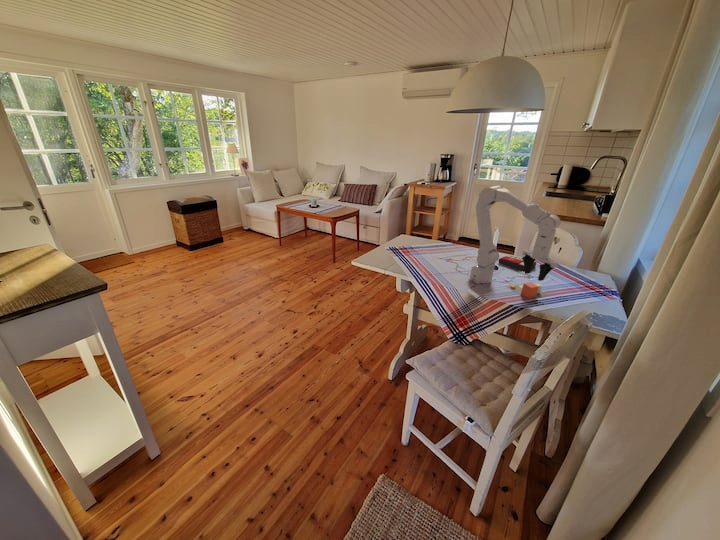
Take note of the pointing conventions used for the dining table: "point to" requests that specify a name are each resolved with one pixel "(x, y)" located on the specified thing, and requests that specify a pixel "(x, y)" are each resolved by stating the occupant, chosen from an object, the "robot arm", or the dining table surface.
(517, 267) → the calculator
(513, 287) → the panel
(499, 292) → the dining table surface
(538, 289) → the switch handle
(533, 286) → the block
